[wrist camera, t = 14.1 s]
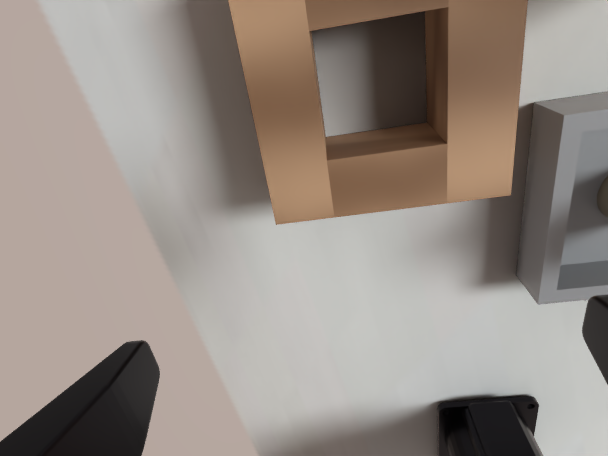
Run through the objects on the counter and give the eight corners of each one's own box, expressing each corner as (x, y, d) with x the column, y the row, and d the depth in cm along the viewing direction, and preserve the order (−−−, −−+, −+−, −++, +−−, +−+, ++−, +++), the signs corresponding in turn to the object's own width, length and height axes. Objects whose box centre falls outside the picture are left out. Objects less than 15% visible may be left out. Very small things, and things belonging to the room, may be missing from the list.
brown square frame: (481, 166, 20) (510, 195, 17) (282, 193, 21) (275, 224, 18) (493, -82, 15) (536, -105, 12) (237, -32, 16) (219, -42, 13)
